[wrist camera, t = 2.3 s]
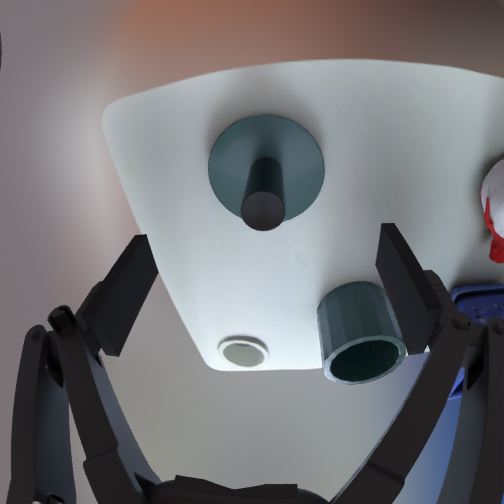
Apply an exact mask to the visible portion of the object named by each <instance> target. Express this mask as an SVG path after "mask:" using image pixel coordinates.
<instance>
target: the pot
mask: <svg viewBox="0 0 504 504" xmlns="http://www.w3.org/2000/svg"><path fill="white" fill-rule="evenodd" d="M317 314H318V319H317V321H318V329H319V338H320V347H321V357H322V367H323V372H324V373H325V375H326V376H327V378H328V379H330V380H332V381H334V382H336V383H340V384H349V385H354V384H363V383H368V382H371V381H374V380H377V379H380V378H382V377H384V376H385V375H387V374H389V373H391V372H392V371H394V370H395V369H396V368H397V367H398V366H399V365H400V364H401V363H402V361H403V359H404V357H405V355H406V348H405V343H404V340H403V337H402V334H401V331H400V328H399V325H398V323H397V320H396V317H395V314H394V312H393V309H392V306H391V303H390V301H389V298H388V296H387V294H386V293H385V291H384V290H383V289H382V288H381V287H379V286H377V285H375V284H373V283H369V282H353V283H348V284H345V285H342V286H340V287H338V288H336V289H334V290H333V291H331V292H330V293H329V294H327V295H326V296H325V298H324V299H323V300H322V301H321V303H320V305H319V308H318V312H317Z"/></svg>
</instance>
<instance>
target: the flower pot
mask: <svg viewBox="0 0 504 504" xmlns="http://www.w3.org/2000/svg"><path fill="white" fill-rule="evenodd" d="M450 297H451V298H452V300H453V302H454V304H455V306H456V307H457V309H458V311H460V312H464V313H465V314H467V315H468V316H469V317H470V318H471V319H472V322H473V323H479V324H486V325H487V323H488V321H489V320H490V319H491V318H492V317H500V318H503V319H504V284H502V283H498V284H486V285H474V286H465V287H457V288H454V289H453V291H452V293H451V296H450ZM464 370H465V368H461V367H460V370H459V373H458V375H457V378H456V381H455V383H454V386H453V388H452V390H451V393H450V395H449V398H448V400H451V399H455V398H458V397H462V390H463V381H464Z"/></svg>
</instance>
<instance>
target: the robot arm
mask: <svg viewBox="0 0 504 504" xmlns="http://www.w3.org/2000/svg"><path fill="white" fill-rule="evenodd" d="M375 265H376V268H377V270H378V272H379V275H380V277H381V280H382V282H383V285H384V287H385V290H386V293H387V295H388V298H389V300H390V303H391V306H392V309H393V311H394V314H395V317H396V320H397V322H398V325H399V328H400V331H401V334H402V337H403V340H404V343H405V346H406V349H407V352H408V355H415V354H421V353H424V351H425V349H426V347H427V345H428V347H429V349H430V353H429V355H428V357H427V359H426V361H425V363H424V365H423V367H422V369H421V371H420V373H419V375H418V377H417V379H416V381H415V383H414V384H413V386H412V388H411V390H410V392H409V393H408V395H407V397H406V399H405V400H404V402H403V404H402V405H401V407H400V409H399V410H398V412H397V414H396V415H395V417H394V419H393V420H392V422H391V423H390V425H389V426H388V428H387V429H386V431H385V432H384V434H383V435H382V437H381V438H380V440H379V441H378V442H377V444H376V445H375V447H374V448H373V450H372V451H371V452H370V454H369V455H368V456H367V458H366V459H365V461H364V462H363V463H362V464H361V466H360V467H359V468H358V470H357V471H356V472H355V473H354V474H353V476H352V477H351V478H350V479H349V481H348V482H347V483H346V484H345V485H344V486H343V487H342V488H341V489H340V491H339V492H338V493H337V494H336V495H335V496H334V497H333V498H332V500H331V501H330V502H328V501H327V500H325V499H324V498H322V497H321V496H319V495H317V494H315V493H313V492H310V491H307V490H304V489H299V488H297V484H265V485H259V486H254V487H248V488H241V489H230V488H227V487H224V486H221V485H218V484H215V483H213V482H210V481H207V480H204V479H198V478H192V477H185V476H179V475H176V477H175V480H170V481H165V482H161V480H160V479H159V477H158V476H157V475H156V474H155V473H154V472H153V470H152V469H151V468H150V466H149V464H148V463H147V461H146V459H145V457H144V455H143V453H142V452H141V449H140V448H139V446H138V444H137V442H136V440H135V438H134V436H133V434H132V431H131V429H130V427H129V425H128V423H127V421H126V419H125V416H124V414H123V412H122V410H121V407H120V405H119V403H118V400H117V398H116V395H115V393H114V391H113V388H112V386H111V383H110V380H109V378H108V375H107V372H106V369H105V367H104V364H103V361H102V358H101V356H100V355H99V351H100V349H101V348H102V349H103V351H104V352H105V354H106V355H109V356H116V357H119V355H120V353H121V351H122V349H123V346H124V344H125V342H126V339H127V337H128V335H129V333H130V331H131V328H132V326H133V324H134V322H135V320H136V318H137V316H138V313H139V311H140V309H141V307H142V305H143V303H144V301H145V299H146V297H147V295H148V293H149V291H150V289H151V287H152V285H153V283H154V281H155V279H156V277H157V275H158V273H159V272H158V269H157V266H156V263H155V260H154V257H153V254H152V251H151V248H150V244H149V241H148V238H147V235H146V234H144V235H135V236H134V237H133V239H132V240H131V242H130V243H129V244H128V246H127V247H126V248H125V250H124V251H123V253H122V254H121V255H120V257H119V258H118V260H117V261H116V263H115V264H114V265H113V267H112V268H111V270H110V271H109V273H108V274H107V276H106V277H105V279H104V280H103V281H100V282H98V283H97V284H96V285H95V286H94V287H93V288H92V289H91V291H90V293H89V294H88V296H87V297H86V299H85V301H84V302H83V303H82V305H81V306H80V308H79V309H78V311H77V312H76V314H75V316H74V314H73V313H72V311H71V309H70V307H69V306H67V305H62V306H59V307H57V308H55V309H54V310H53V311H52V312H51V313H50V314H49V316H48V322H49V324H50V325H51V326H52V328H53V331H48V332H47V331H46V330H45V328H44V326H42V325H36V326H34V327H32V328H31V329H30V330H29V331H28V332H27V334H26V336H25V341H24V345H23V350H22V355H21V360H20V366H19V371H18V377H17V384H16V391H15V399H14V408H13V419H12V435H11V481H10V486H9V491H8V496H7V502H6V504H76V490H75V482H74V475H73V467H72V457H71V445H70V430H69V402H70V406H71V410H72V414H73V417H74V421H75V424H76V427H77V431H78V434H79V437H80V440H81V443H82V446H83V449H84V452H85V454H86V460H85V461H84V462H83V468H84V471H85V474H86V476H87V479H88V481H89V484H90V486H91V489H92V491H93V493H94V496H95V498H96V500H97V502H98V504H392V503H393V502H394V500H395V499H396V497H397V496H398V494H399V493H400V491H401V490H402V488H403V486H404V483H405V478H406V476H407V475H408V473H409V472H410V470H411V468H412V467H413V465H414V464H415V462H416V460H417V458H418V457H419V455H420V453H421V452H422V450H423V448H424V446H425V444H426V442H427V441H428V439H429V437H430V435H431V433H432V431H433V429H434V427H435V425H436V423H437V421H438V419H439V417H440V415H441V413H442V411H443V409H444V406H445V404H446V402H447V400H448V398H449V395H450V393H451V390H452V388H453V386H454V383H455V381H456V378H457V375H458V373H459V370H460V367H461V368H465V370H464V381H463V390H462V398H461V406H460V412H459V419H458V424H457V430H456V435H455V439H454V444H453V449H452V452H451V457H450V461H449V464H448V468H447V472H446V475H445V479H444V482H443V485H442V488H441V491H440V495H439V498H438V500H437V503H436V504H501V501H502V497H503V493H504V319H503V318H500V317H492V318H491V319H490V320H489V321H488V323H487V325H486V324H479V323H473V322H472V319H471V318H470V317H469V316H468V315H467V314H465V313H464V312H460V311H458V309H457V307H456V306H455V304H454V302H453V300H452V298H451V297H450V295H449V293H448V291H446V290H447V289H446V288H445V286H444V285H443V283H442V281H441V279H440V277H439V276H438V275H437V274H436V273H434V272H433V271H432V270H423V269H422V267H421V266H420V264H419V262H418V261H417V259H416V257H415V255H414V254H413V252H412V251H411V249H410V247H409V246H408V244H407V242H406V241H405V239H404V238H403V236H402V234H401V233H400V231H399V230H398V228H397V227H396V225H395V224H394V223H382V224H381V231H380V238H379V245H378V252H377V258H376V264H375Z"/></svg>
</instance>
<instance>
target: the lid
mask: <svg viewBox="0 0 504 504" xmlns="http://www.w3.org/2000/svg"><path fill="white" fill-rule="evenodd" d="M324 171H325V169H324V160H323V156H322V153H321V151H320V148H319V146H318V145H317V143H316V141H315V140H314V138H313V137H312V136H311V134H310V133H309V132H308V131H307V130H306V129H304V128H303V127H302V126H300V125H299V124H297V123H296V122H294V121H292V120H290V119H287V118H284V117H281V116H276V115H255V116H251V117H247V118H244V119H242V120H240V121H238V122H236V123H234V124H233V125H231V126H230V127H229V128H227V129H226V130H225V131H224V132H223V133H222V134H221V136H220V137H219V138H218V140H217V141H216V143H215V144H214V146H213V148H212V151H211V154H210V158H209V164H208V173H209V180H210V184H211V186H212V189H213V191H214V193H215V195H216V197H217V198H218V199H219V201H220V202H221V203H222V204H223V205H224V206H225V207H226V208H227V209H228V210H229V211H230V212H232V213H233V214H235V215H236V216H238V217H240V218H242V219H243V221H244V222H245V223H246V224H247V225H248V226H249V227H251V228H252V229H255V230H258V231H269V230H272V229H274V228H276V227H278V226H279V225H280V224H281V223H282V222H284V221H287V220H290V219H292V218H294V217H296V216H298V215H299V214H301V213H303V212H304V211H305V210H306V209H307V208H309V206H310V205H311V204H312V203H313V202H314V201H315V199H316V198H317V196H318V194H319V192H320V190H321V187H322V185H323V180H324Z"/></svg>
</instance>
